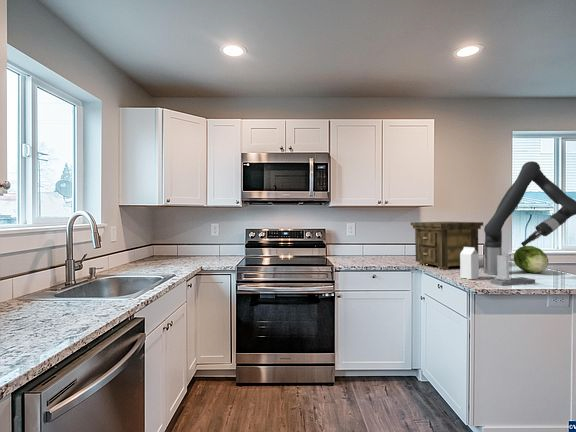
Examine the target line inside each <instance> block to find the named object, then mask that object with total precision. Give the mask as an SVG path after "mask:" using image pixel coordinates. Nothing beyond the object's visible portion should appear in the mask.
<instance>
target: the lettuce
mask: <svg viewBox="0 0 576 432" xmlns="http://www.w3.org/2000/svg"><path fill="white" fill-rule="evenodd" d="M513 261H514V265H516V266H517V267H518V268H519V269H520V270H522V271H524V272H527V273H529V274H538V273H542V272H543V271H545V270H547V268H548V267H549V257H548V256H547V254H546V253H545V252H544V251H543V250H542V249H541V248H539V247H536V246H533V245H525V246H523V245H522V246H520V247H518V248H517V249H516V250H515V252H514V253H513Z"/></svg>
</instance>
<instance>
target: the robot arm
mask: <svg viewBox="0 0 576 432" xmlns="http://www.w3.org/2000/svg"><path fill="white" fill-rule="evenodd" d="M532 182H534V183H535V184H536V185H537V186H538V187H539V188H540V189H541V190H542V191H543V192H544V193H545V194H546V196H547V197H548V198H549V199H550V200H551V201H552V202H553V203H554V204H557V205H561V206H562V207H561V208H559V209H558V210H557V211H556V212H555V213H553V214H551V215H550V216H549V217H548V218H546V219H544V220H543V221H541V222H540V223H538V224H537V225H536V226H535V230H534V231H532V233H531V234H530V235H529V236H528V237H527V238H525V240H523V241H522V242H520V245H521V246H522V247H523V246H527V245H528V244H529V243H531V242H533V241H534V242H535V241H536V240H537V239H539V238H540V237H542V236H543V237H547V236H549V235H550V234H551V233H554V231H556V230H558V228H559V227H560V226H562V225H563V224H564V223H566V221H567V220H568V219H570V218H571V217H573V216H575V215H576V200H575V199H573V198H572V197H570V196H569V195H567V194H566V192H564V191H563V190H562V189H561V188H560V187H559V186H557V185H556V184H555V183H554V182H552V181H551V180H550V179H549V178H548V177H547V176H546V175H545V174H544V172H543V171H542V170H541V166H540V164H539V163H538V162H536V161H534V160H533V161H531V160H530V161H528V162H525V163H524V164H523V165H522V166H521V169H520V171H519V173H518V176H517V178H516V179H515V181H514V182H513V184H512V185H511V186H510V187H509V188H508V189H507V191H506V192H505V194H504V196H503V197H502V199H501V200H500V202H499V204H498V205H497V207H496V210H495V213H494V214H493V216H491V218H490V220H488V222H487V223H486V224H485V226H484V230H483V231H484V233H485V234H484V236H485V237H484V238H485V239H484V258H483V274H486V275H487V274H488V275H493V276H495V275H497V255H502V254H503V253H502V252H503V251H502V250H503V249H502V243H503V238H502V237H503V235H502V234H503V231H502V229H503V227H504V224H505V222H506V221H507V219H508V218H509V217H510V216H511V215H512V214H513V212H514V211H515V210H516V209H517V208H518V206H519V204H520V203H521V201H522V199H523V198H524V197H525V196H524V195H525V193H526V191H527V189H528V187H529V185H530V184H531V183H532Z"/></svg>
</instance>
